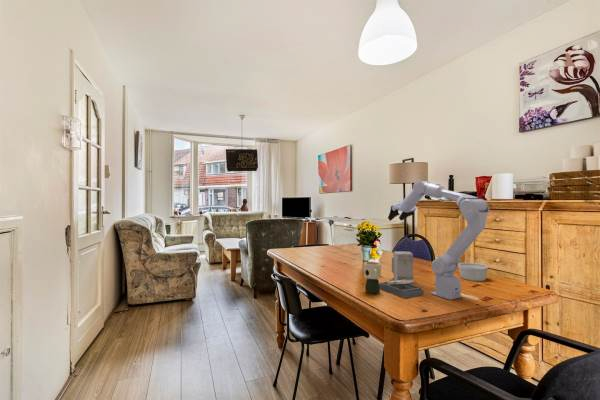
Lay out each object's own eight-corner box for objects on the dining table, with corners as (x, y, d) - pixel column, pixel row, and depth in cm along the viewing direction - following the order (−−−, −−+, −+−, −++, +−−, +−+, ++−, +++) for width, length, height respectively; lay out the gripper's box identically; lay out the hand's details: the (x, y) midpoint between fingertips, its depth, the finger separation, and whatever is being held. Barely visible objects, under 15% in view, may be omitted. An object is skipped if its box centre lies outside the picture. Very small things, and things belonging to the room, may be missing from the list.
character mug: (361, 289, 136) (361, 260, 136) (376, 288, 136) (376, 260, 137) (367, 296, 125) (367, 266, 125) (384, 296, 126) (384, 265, 126)
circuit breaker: (405, 278, 155) (405, 249, 156) (413, 285, 141) (413, 254, 141) (391, 277, 156) (391, 249, 156) (397, 285, 142) (397, 254, 142)
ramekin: (492, 282, 146) (492, 268, 146) (463, 281, 149) (463, 267, 149) (481, 276, 159) (481, 263, 160) (455, 275, 162) (455, 262, 162)
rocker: (413, 282, 129) (413, 278, 130) (403, 284, 127) (403, 280, 127) (397, 283, 138) (396, 279, 138) (387, 284, 135) (386, 281, 136)
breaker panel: (423, 294, 128) (423, 287, 128) (405, 298, 123) (405, 291, 123) (395, 285, 142) (395, 278, 142) (378, 288, 137) (378, 281, 137)
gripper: (416, 195, 149) (401, 213, 157) (395, 194, 142) (380, 213, 151) (424, 205, 144) (408, 223, 153) (403, 205, 138) (387, 223, 146)
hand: (394, 219), depth 151 cm, fingers open, 7 cm apart
